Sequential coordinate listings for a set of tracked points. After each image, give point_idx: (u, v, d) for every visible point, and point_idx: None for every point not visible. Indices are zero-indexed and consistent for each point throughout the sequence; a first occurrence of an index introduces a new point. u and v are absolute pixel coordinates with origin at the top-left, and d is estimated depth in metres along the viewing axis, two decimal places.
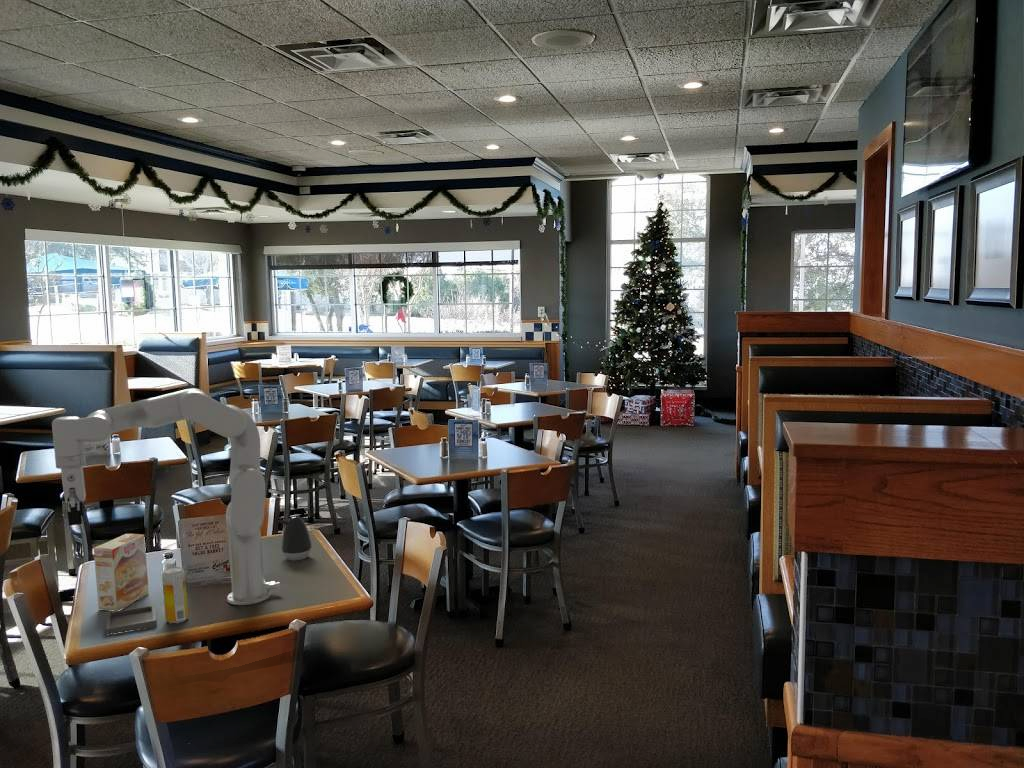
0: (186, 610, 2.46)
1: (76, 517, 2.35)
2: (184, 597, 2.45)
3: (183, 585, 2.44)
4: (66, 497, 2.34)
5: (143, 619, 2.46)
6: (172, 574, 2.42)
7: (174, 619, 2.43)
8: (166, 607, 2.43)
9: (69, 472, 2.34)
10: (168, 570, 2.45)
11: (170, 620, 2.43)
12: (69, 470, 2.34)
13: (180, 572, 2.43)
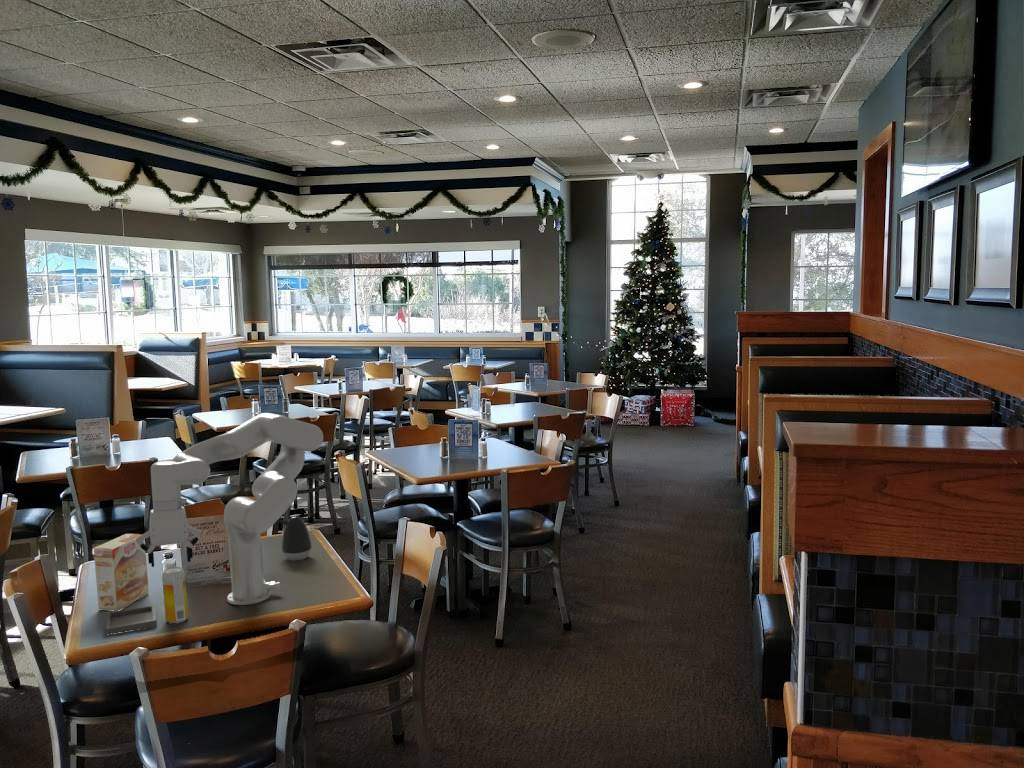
0: (186, 610, 2.46)
1: None
2: (184, 597, 2.45)
3: (183, 585, 2.44)
4: None
5: (143, 619, 2.46)
6: (172, 574, 2.42)
7: (174, 620, 2.43)
8: (166, 607, 2.43)
9: None
10: (168, 570, 2.45)
11: (170, 620, 2.43)
12: (183, 509, 2.44)
13: (180, 572, 2.43)
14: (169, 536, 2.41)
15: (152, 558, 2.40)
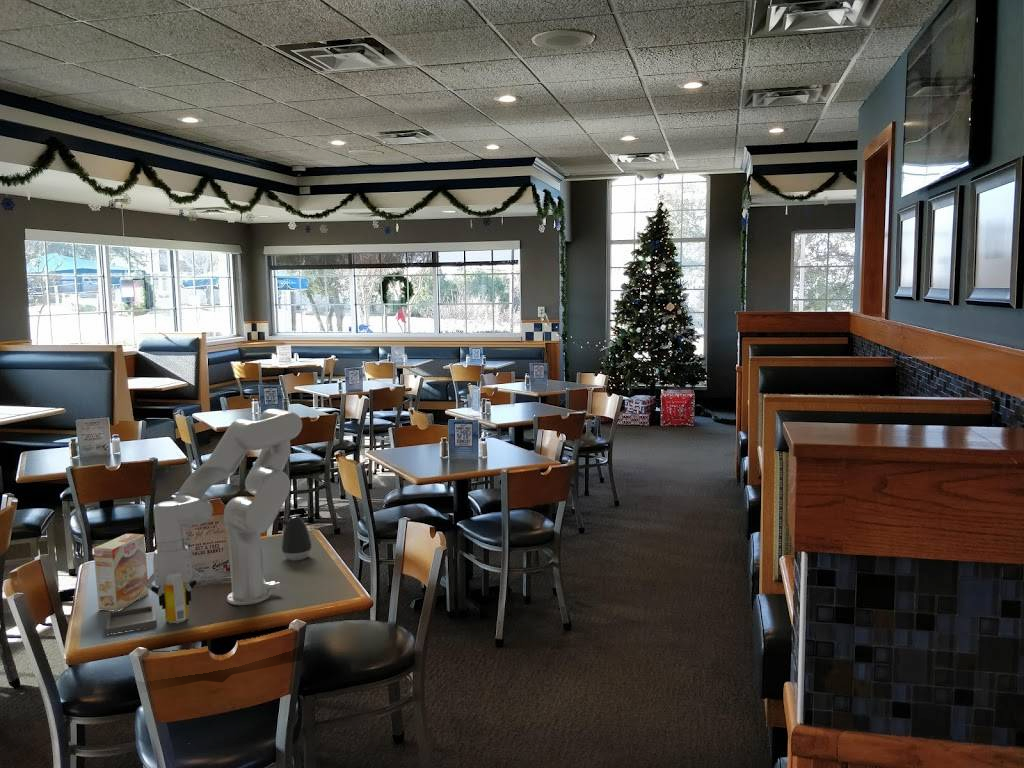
0: (186, 610, 2.46)
1: None
2: (184, 597, 2.45)
3: (183, 585, 2.44)
4: (191, 574, 2.45)
5: (143, 619, 2.46)
6: (172, 574, 2.42)
7: (174, 619, 2.43)
8: (166, 607, 2.43)
9: (188, 550, 2.45)
10: None
11: (170, 620, 2.43)
12: (187, 548, 2.45)
13: None
14: None
15: (163, 600, 2.43)
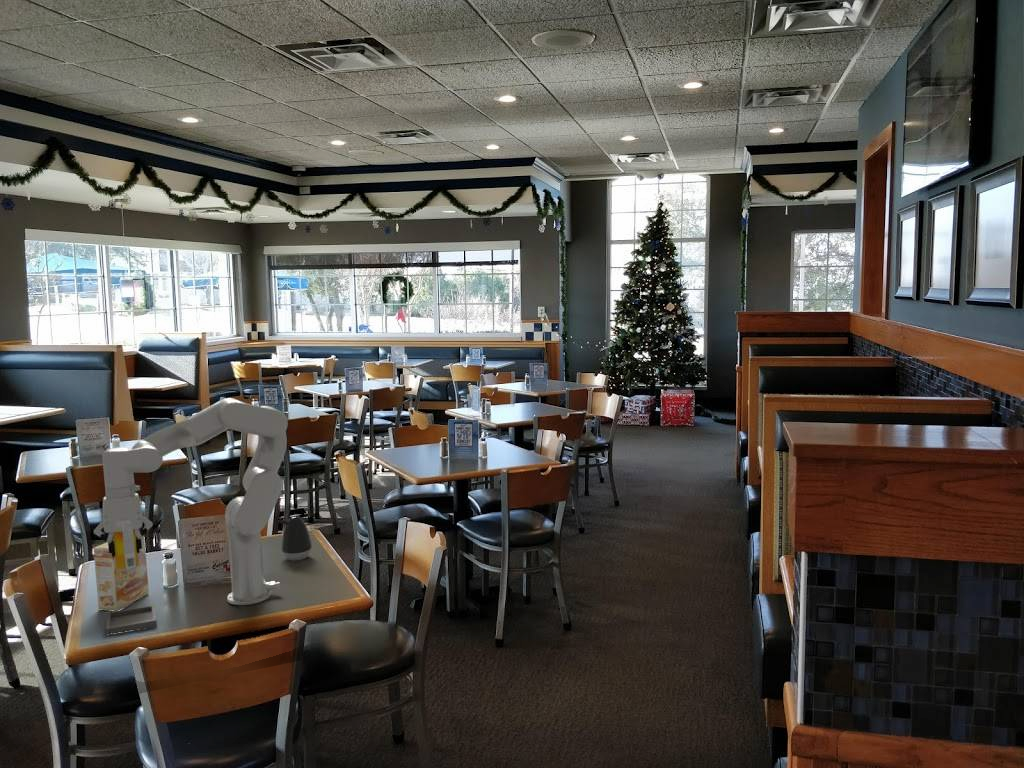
0: (137, 558, 2.42)
1: (141, 543, 2.44)
2: (134, 545, 2.41)
3: (133, 533, 2.41)
4: (142, 522, 2.42)
5: (143, 619, 2.46)
6: (122, 521, 2.39)
7: (123, 567, 2.40)
8: (116, 554, 2.40)
9: (138, 497, 2.42)
10: None
11: (120, 568, 2.40)
12: (137, 496, 2.42)
13: None
14: None
15: (112, 548, 2.39)
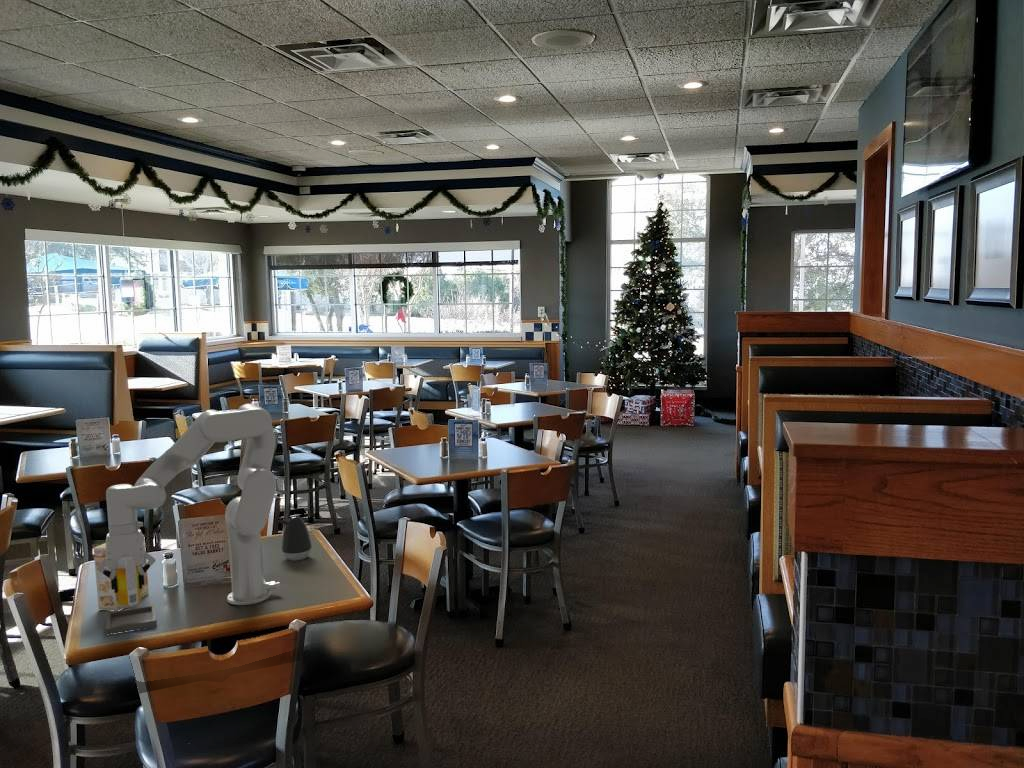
0: (139, 594, 2.44)
1: None
2: (137, 581, 2.43)
3: (135, 569, 2.42)
4: (144, 558, 2.43)
5: (143, 619, 2.46)
6: (124, 557, 2.40)
7: (126, 603, 2.41)
8: (118, 591, 2.41)
9: (141, 534, 2.43)
10: None
11: (122, 604, 2.41)
12: (140, 532, 2.43)
13: None
14: None
15: (115, 584, 2.41)
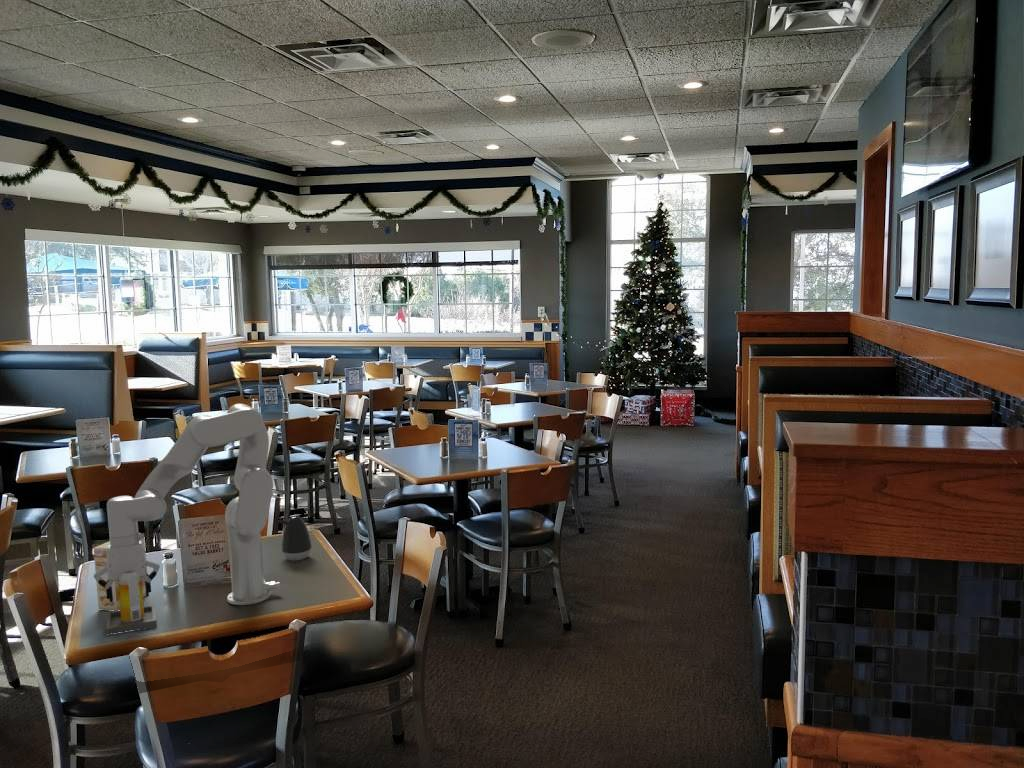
0: (142, 610, 2.44)
1: None
2: (140, 597, 2.43)
3: (138, 585, 2.43)
4: (146, 569, 2.44)
5: (143, 619, 2.46)
6: (127, 574, 2.40)
7: (129, 620, 2.42)
8: (121, 607, 2.42)
9: (142, 545, 2.44)
10: None
11: (125, 620, 2.42)
12: (141, 543, 2.44)
13: None
14: (127, 572, 2.41)
15: (110, 594, 2.40)
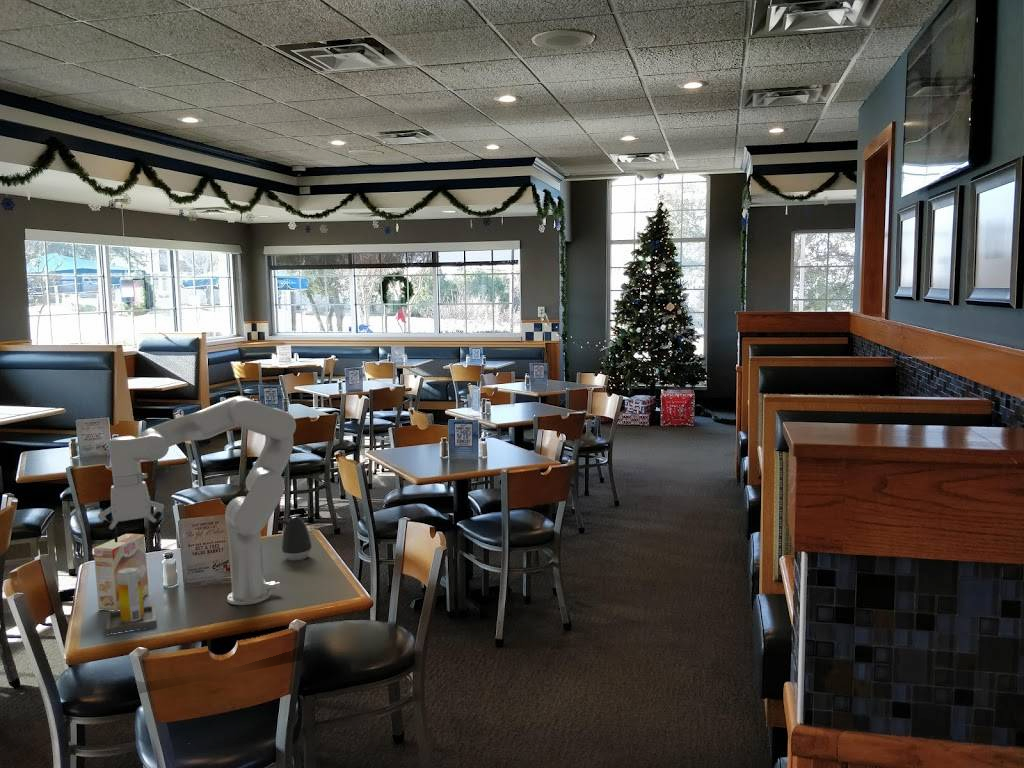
0: (142, 610, 2.44)
1: None
2: (139, 597, 2.43)
3: (138, 585, 2.43)
4: (150, 509, 2.43)
5: (143, 619, 2.46)
6: (127, 574, 2.41)
7: (129, 620, 2.42)
8: (121, 607, 2.42)
9: (146, 485, 2.43)
10: (123, 570, 2.44)
11: (125, 620, 2.42)
12: (144, 483, 2.43)
13: (135, 572, 2.42)
14: (131, 511, 2.41)
15: (115, 534, 2.40)
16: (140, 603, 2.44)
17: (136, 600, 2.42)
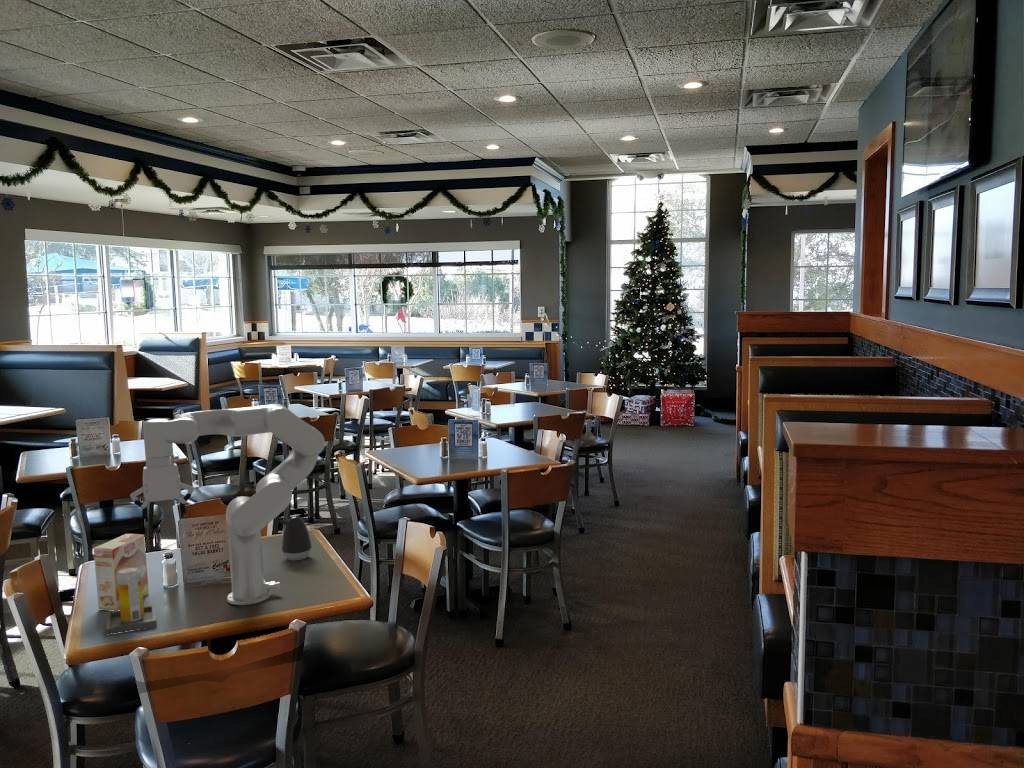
0: (142, 610, 2.44)
1: None
2: (139, 597, 2.43)
3: (138, 585, 2.43)
4: (180, 491, 2.49)
5: (143, 619, 2.46)
6: (127, 574, 2.41)
7: (129, 620, 2.42)
8: (121, 607, 2.42)
9: (177, 467, 2.49)
10: (123, 570, 2.44)
11: (125, 620, 2.42)
12: (176, 465, 2.49)
13: (135, 572, 2.42)
14: (162, 492, 2.46)
15: (146, 513, 2.46)
16: (140, 603, 2.44)
17: (136, 600, 2.42)
